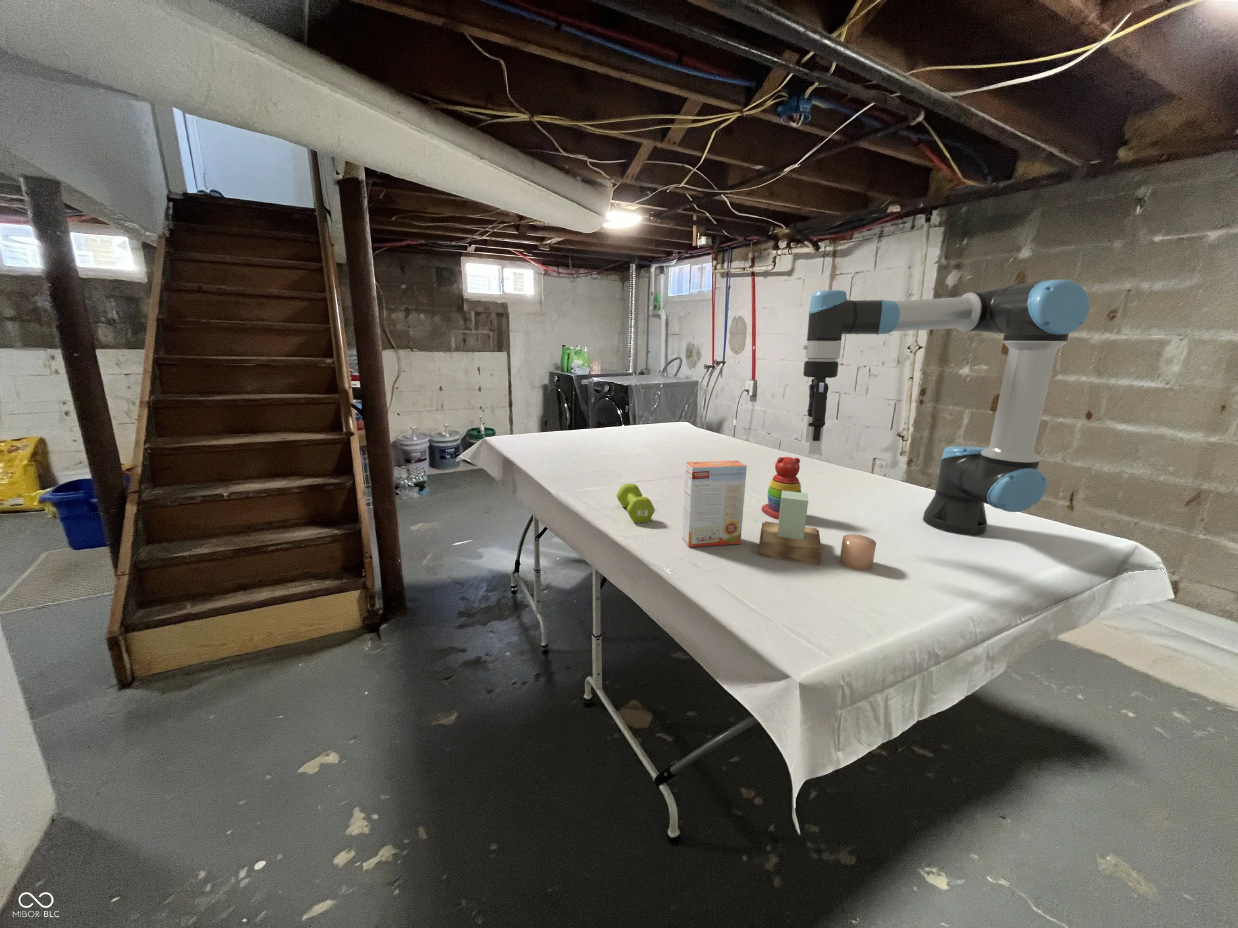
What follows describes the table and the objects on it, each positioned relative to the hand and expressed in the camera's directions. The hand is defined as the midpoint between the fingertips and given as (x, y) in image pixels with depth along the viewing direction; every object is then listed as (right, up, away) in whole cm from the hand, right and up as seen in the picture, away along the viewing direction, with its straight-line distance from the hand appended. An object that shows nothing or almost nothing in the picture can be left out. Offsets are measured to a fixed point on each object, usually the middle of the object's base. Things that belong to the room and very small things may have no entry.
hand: (812, 448), depth 120 cm
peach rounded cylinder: (+8, -27, -6) cm, 29 cm away
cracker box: (-24, -24, +5) cm, 35 cm away
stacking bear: (+1, -19, +25) cm, 32 cm away
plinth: (-5, -25, +2) cm, 26 cm away
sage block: (-5, -21, +1) cm, 22 cm away
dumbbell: (-43, -19, +23) cm, 53 cm away
